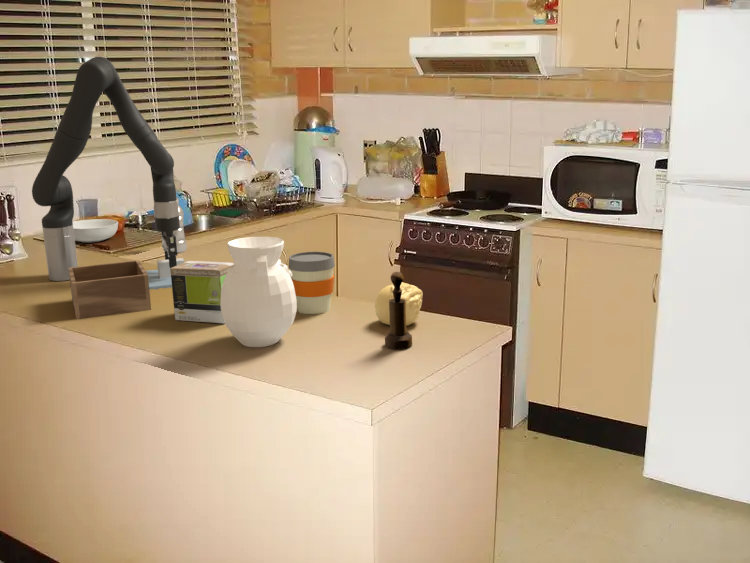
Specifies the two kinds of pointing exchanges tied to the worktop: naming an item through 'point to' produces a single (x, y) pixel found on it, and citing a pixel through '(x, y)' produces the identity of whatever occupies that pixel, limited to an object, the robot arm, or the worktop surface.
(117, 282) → the box
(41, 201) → the robot arm
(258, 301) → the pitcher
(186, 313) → the tea box
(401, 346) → the dark brown tall piece
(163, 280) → the lid
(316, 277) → the reusable coffee cup
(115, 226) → the serving bowl
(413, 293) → the sculpture
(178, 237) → the plastic bottle
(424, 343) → the worktop surface
